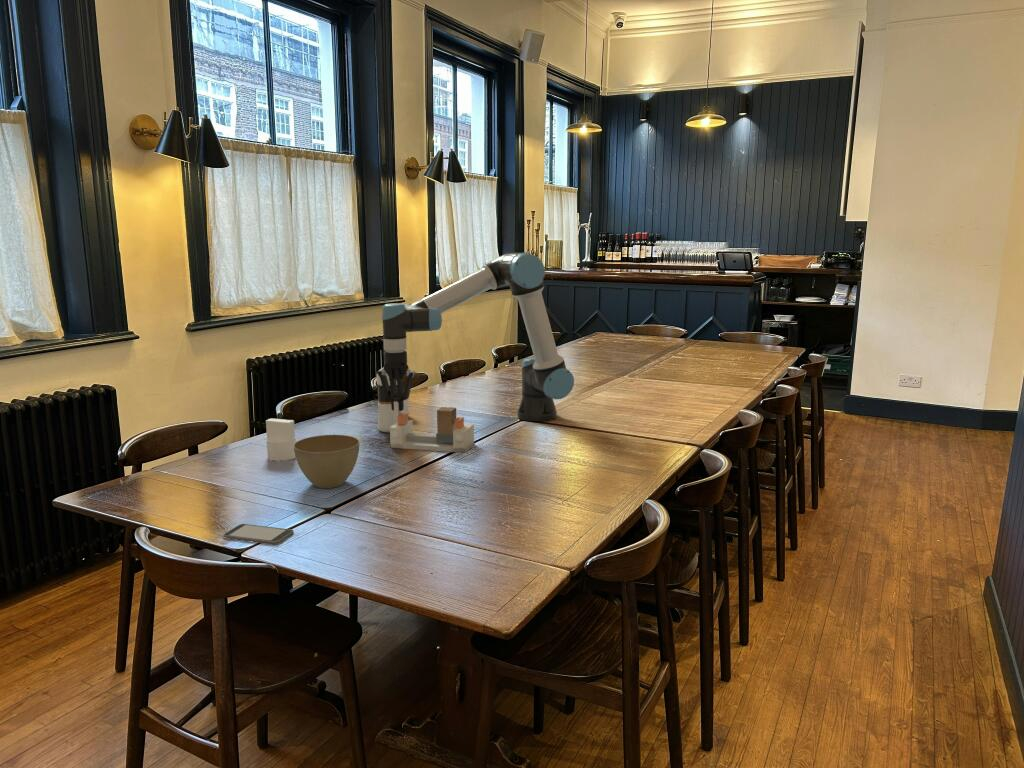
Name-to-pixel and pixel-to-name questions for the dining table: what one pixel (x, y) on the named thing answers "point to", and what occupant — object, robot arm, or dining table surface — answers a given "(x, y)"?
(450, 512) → the dining table surface
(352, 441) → the tan bowl
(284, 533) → the smartphone
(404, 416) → the gauge plunger
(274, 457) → the base with upright slab
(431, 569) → the dining table surface
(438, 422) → the carriage
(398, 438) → the linear slide base
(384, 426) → the vodka
